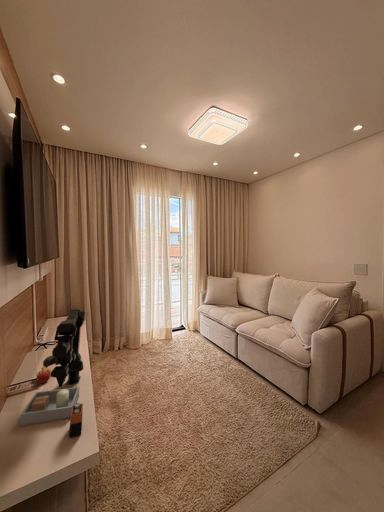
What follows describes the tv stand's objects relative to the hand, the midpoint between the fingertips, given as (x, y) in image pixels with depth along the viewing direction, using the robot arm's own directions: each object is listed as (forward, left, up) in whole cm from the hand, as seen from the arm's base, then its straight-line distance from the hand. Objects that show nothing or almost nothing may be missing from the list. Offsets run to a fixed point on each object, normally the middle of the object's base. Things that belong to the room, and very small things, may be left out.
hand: (63, 381), depth 101 cm
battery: (+16, +9, -13) cm, 23 cm away
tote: (0, -4, -13) cm, 14 cm away
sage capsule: (0, 0, -12) cm, 12 cm away
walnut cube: (0, -9, -12) cm, 15 cm away
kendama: (-32, -19, -14) cm, 40 cm away
